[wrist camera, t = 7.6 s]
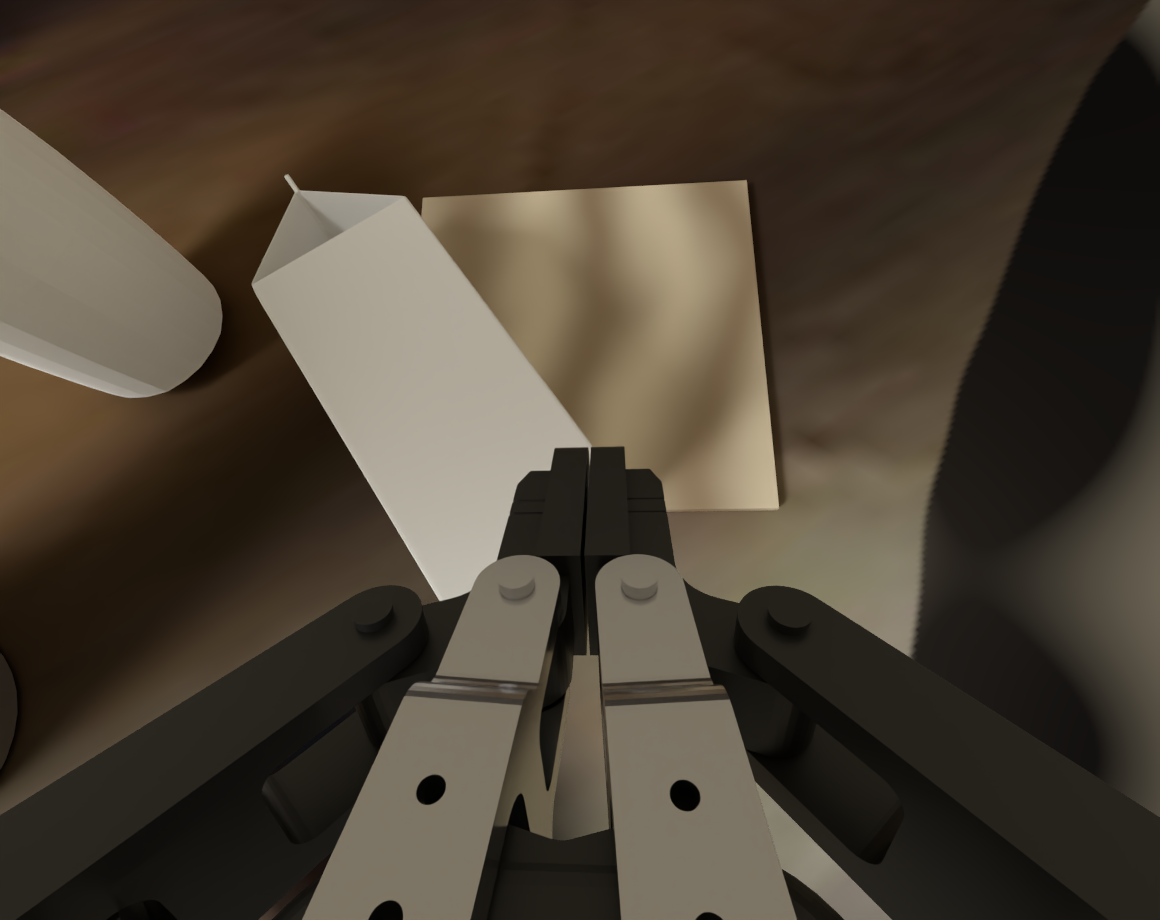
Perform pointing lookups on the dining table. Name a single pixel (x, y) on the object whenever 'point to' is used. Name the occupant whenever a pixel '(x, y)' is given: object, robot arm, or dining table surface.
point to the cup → (92, 280)
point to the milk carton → (411, 374)
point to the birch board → (635, 323)
